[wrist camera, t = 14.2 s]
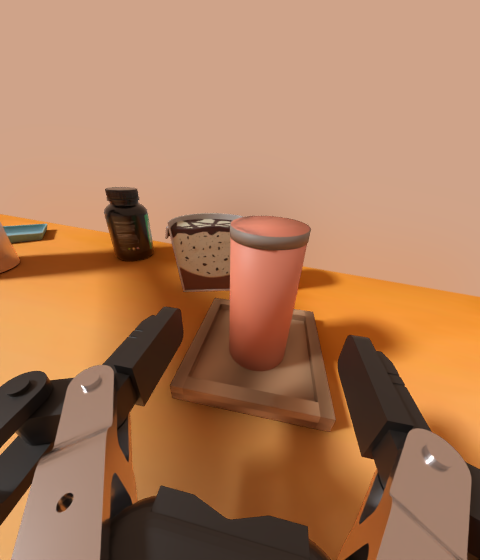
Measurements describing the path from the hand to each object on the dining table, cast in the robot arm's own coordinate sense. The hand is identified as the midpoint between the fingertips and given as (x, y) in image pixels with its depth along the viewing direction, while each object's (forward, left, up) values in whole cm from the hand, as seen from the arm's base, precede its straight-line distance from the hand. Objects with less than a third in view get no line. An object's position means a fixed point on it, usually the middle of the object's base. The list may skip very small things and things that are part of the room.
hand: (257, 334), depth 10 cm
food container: (-8, +20, -9) cm, 24 cm away
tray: (0, +7, -9) cm, 12 cm away
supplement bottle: (-26, +26, -9) cm, 38 cm away
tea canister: (0, +7, -8) cm, 11 cm away
